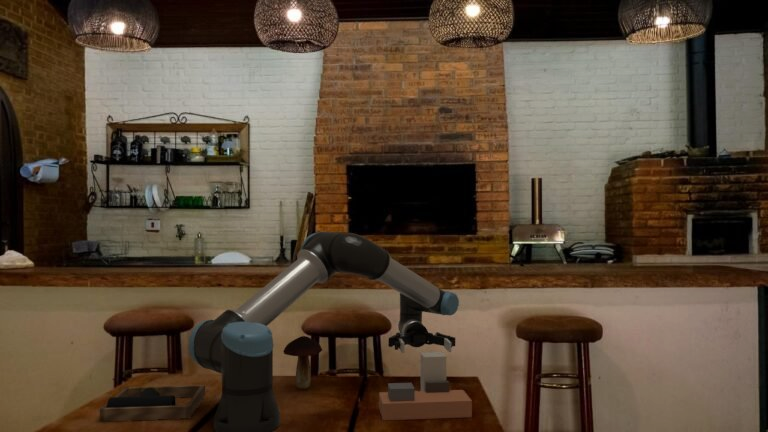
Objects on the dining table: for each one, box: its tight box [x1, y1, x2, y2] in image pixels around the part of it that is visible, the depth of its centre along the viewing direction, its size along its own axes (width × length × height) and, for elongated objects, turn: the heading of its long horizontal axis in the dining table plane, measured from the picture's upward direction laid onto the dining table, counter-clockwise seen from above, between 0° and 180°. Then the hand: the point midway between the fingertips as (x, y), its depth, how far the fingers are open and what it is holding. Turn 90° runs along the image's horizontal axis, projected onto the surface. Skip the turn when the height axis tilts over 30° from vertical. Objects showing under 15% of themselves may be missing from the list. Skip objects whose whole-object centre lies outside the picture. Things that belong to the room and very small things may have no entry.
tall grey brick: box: [420, 351, 447, 391], centre depth 154 cm, size 6×5×12 cm
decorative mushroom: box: [282, 335, 323, 390], centre depth 165 cm, size 11×11×15 cm
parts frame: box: [99, 384, 206, 423], centre depth 148 cm, size 21×18×3 cm
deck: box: [378, 380, 473, 421], centre depth 148 cm, size 22×16×7 cm
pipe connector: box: [106, 386, 177, 408], centre depth 145 cm, size 12×5×15 cm
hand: (426, 347), depth 164 cm, fingers open, 13 cm apart
